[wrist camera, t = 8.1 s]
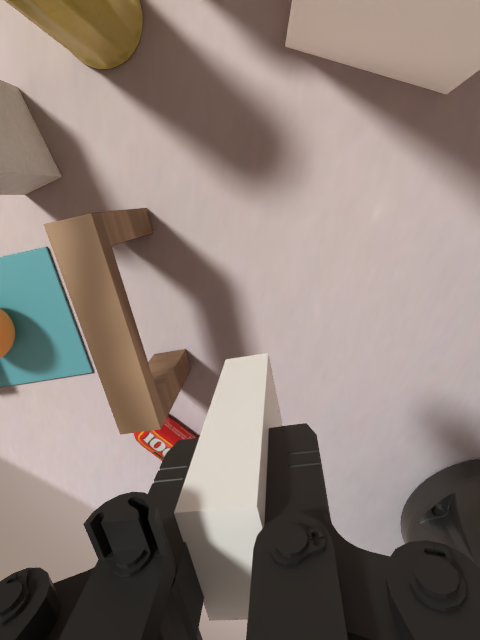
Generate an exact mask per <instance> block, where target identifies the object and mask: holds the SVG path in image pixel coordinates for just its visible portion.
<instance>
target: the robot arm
mask: <svg viewBox="0 0 480 640" xmlns="http://www.w3.org/2000/svg"><path fill="white" fill-rule="evenodd" d="M84 526H85V529H86V531H87V533H88V536H89V538H90V540H91V543H92V545H93V548H94V550H95V552H96V555H97V557H98V559H99V560H98V562H97V564H96V566H95V567H94V568H92V569H90V570H88V571H86V572H83V573H80V574H77V575H75V576H72V577H69V578H67V579H64V580H61V581H59V582H56V583H52V581H51V579H50V577H49V575H48V573H47V572H46V571H44V570H43V569H41V568H26V569H24V570H21V571H18V572H15V573H13V574H11V575H10V576H8V577H7V578H5V579H3V580H2V581H0V640H202V637H201V634H200V631H199V628H198V627H199V622H200V616H201V610H202V606H203V602H204V605H205V608H206V611H207V614H208V617H209V620H239V619H248V623H247V636H246V640H480V460H473V461H468V462H463V463H460V464H456V465H453V466H451V467H448V468H446V469H443V470H441V471H439V472H437V473H436V474H434V475H432V476H431V477H429V478H428V479H427V480H425V481H424V482H423V483H422V484H420V485H419V486H418V487H417V488H416V489H415V491H414V492H413V493H412V494H411V496H410V497H409V499H408V500H407V502H406V504H405V506H404V509H403V512H402V516H401V533H402V536H403V539H404V542H405V544H404V545H402V546H401V547H399V548H397V549H395V551H394V552H393V554H392V555H391V557H390V556H385V555H381V554H377V553H373V552H369V551H366V550H363V549H361V548H358V547H356V546H354V545H352V544H351V543H349V542H347V541H346V540H345V539H344V538H343V537H342V536H341V535H340V534H338V533H337V531H336V529H335V528H334V526H333V525H332V523H331V519H330V512H329V506H328V500H327V494H326V488H325V481H324V476H323V470H322V464H321V458H320V453H319V447H318V441H317V435H316V434H315V432H314V431H313V430H312V429H311V428H310V427H309V426H308V425H307V423H306V424H297V425H289V426H282V419H281V414H280V409H279V404H278V399H277V394H276V389H275V384H274V379H273V374H272V369H271V364H270V359H269V355H268V353H264V354H258V355H251V356H245V357H238V358H232V359H226V360H225V363H224V366H223V369H222V372H221V375H220V378H219V381H218V384H217V387H216V390H215V393H214V396H213V399H212V402H211V405H210V408H209V411H208V413H207V416H206V419H205V422H204V425H203V428H202V431H201V434H200V437H199V438H192V439H183V440H178V441H177V442H176V443H175V444H174V446H173V447H172V448H171V449H170V450H169V451H168V452H167V453H166V455H165V457H164V459H163V461H162V464H161V466H160V471H158V473H157V475H156V477H155V479H154V483H153V484H152V486H151V488H150V490H149V493H148V494H146V493H142V492H130V493H126V494H122V495H119V496H117V497H115V498H113V499H111V500H109V501H107V502H105V503H104V504H103V505H101V506H100V507H99V508H98V509H96V510H95V511H94V512H93V513H92V514H91V515H90V517H89V518H88V519H87V520H86V522H85V523H84Z"/></svg>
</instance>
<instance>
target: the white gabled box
mask: <svg viewBox="0 0 480 640" xmlns="http://www.w3.org/2000/svg"><path fill="white" fill-rule="evenodd" d="M61 177H62V176H61V174H60V172H59V170H58V168H57V166H56V164H55V162H54V160H53V158H52V156H51V154H50V152H49V150H48V148H47V146H46V144H45V142H44V140H43V137H42V135H41V133H40V131H39V129H38V127H37V125H36V123H35V121H34V119H33V117H32V115H31V113H30V111H29V109H28V107H27V105H26V103H25V101H24V99H23V97H22V95H21V93H20V91H19V89H18V87H16V86H13V85H11V84H9V83H6V82H4V81H1V80H0V195H25V194H28V193H30V192H32V191H34V190H36V189H38V188H40V187H42V186H44V185H46V184H49V183H51V182H53V181H55V180H57V179H59V178H61Z"/></svg>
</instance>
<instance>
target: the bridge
mask: <svg viewBox="0 0 480 640" xmlns="http://www.w3.org/2000/svg"><path fill="white" fill-rule="evenodd" d="M44 226H45V229H46V232H47V235H48V237H49V240H50V243H51V246H52V248H53V251H54V254H55V257H56V259H57V262H58V265H59V268H60V270H61V273H62V276H63V279H64V281H65V284H66V287H67V290H68V292H69V295H70V298H71V300H72V303H73V306H74V309H75V311H76V314H77V317H78V320H79V322H80V325H81V328H82V331H83V333H84V336H85V339H86V342H87V344H88V347H89V350H90V353H91V355H92V358H93V361H94V364H95V366H96V369H97V372H98V375H99V377H100V380H101V383H102V385H103V388H104V391H105V394H106V396H107V399H108V402H109V405H110V407H111V410H112V413H113V416H114V418H115V421H116V424H117V427H118V429H119V432H120V434H127V433H135V432H143V431H151V430H159V429H161V428H162V426H163V424H164V422H165V420H166V418H167V416H168V414H169V412H170V410H171V408H172V406H173V404H174V402H175V400H176V398H177V396H178V394H179V392H180V390H181V388H182V386H183V384H184V382H185V380H186V378H187V376H188V374H189V372H190V370H191V367H190V363H189V360H188V356H187V352H186V349H184V350H178V351H171V352H165V353H159V354H154V356H153V357H152V358H151V360H150V361H149V362H148V361H147V358H146V355H145V352H144V348H143V345H142V342H141V339H140V336H139V333H138V329H137V326H136V323H135V320H134V317H133V314H132V310H131V307H130V304H129V301H128V298H127V295H126V291H125V288H124V285H123V282H122V279H121V276H120V272H119V269H118V266H117V263H116V260H115V256H114V253H113V250H112V247H111V245H114V244H118V243H121V242H124V241H128V240H131V239H135V238H138V237H141V236H145V235H148V234H151V233H153V230H152V226H151V223H150V219H149V216H148V212H147V208H140V209H130V210H119V211H108V212H97V213H89V214H85V215H81V216H76V217H72V218H68V219H64V220H59V221H55V222H51V223H47V224H44Z"/></svg>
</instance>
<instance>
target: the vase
mask: <svg viewBox="0 0 480 640" xmlns="http://www.w3.org/2000/svg"><path fill="white" fill-rule="evenodd" d="M5 1H6V2H7V3H9V4H10V5H11V6H13V7H14V8H15V9H17V10H18V11H19V12H21V13H22V14H23V15H24V16H25V17H27V18H28V19H29V20H30V21H32V22H33V23H34V24H36V25H37V26H38V27H40V28H41V29H42V30H43V31H44V32H46V33H47V34H48V35H50V36H51V37H52V38H53V39H55V40H56V41H57V42H59V43H60V44H62V45H63V46H64V47H65V48H67V49H68V50H69V51H70V52H71V53H72V54H73V55H74V56H75V57H76V58H78V59H79V60H80V61H81V62H83V63H84V64H86V65H88V66H90V67H93V68H98V69H111V68H114V67H116V66H118V65H120V64H122V63H123V62H125V61H126V60H127V59H129V58H130V56H131V55H132V54H133V52H134V51H135V49H136V47H137V45H138V43H139V40H140V37H141V32H142V23H143V20H142V10H141V6H140V2H139V0H5Z"/></svg>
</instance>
